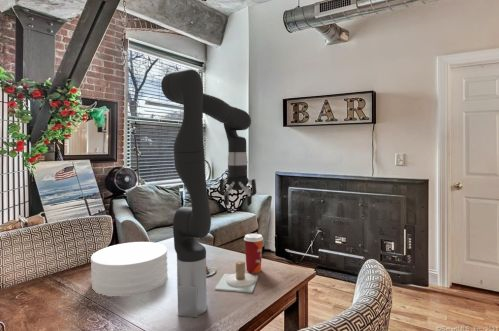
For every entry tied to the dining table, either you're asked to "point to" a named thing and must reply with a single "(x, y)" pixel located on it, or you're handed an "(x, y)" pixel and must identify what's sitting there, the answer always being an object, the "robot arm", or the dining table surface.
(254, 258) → the coffee cup
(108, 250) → the plate stack
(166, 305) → the dining table surface
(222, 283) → the rubber mat
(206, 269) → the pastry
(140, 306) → the dining table surface
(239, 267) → the cup lid
